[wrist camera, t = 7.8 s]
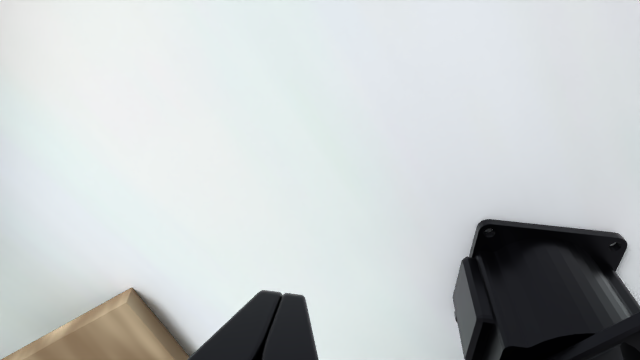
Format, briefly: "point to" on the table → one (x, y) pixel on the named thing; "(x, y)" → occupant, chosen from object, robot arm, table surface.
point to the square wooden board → (108, 335)
